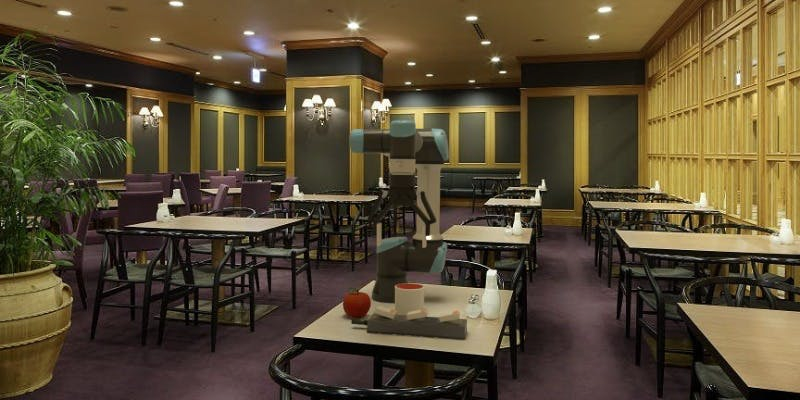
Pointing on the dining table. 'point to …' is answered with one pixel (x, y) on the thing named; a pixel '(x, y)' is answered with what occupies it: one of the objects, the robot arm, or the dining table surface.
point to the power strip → (415, 326)
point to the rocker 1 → (385, 312)
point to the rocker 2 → (417, 314)
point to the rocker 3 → (449, 316)
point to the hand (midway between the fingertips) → (401, 246)
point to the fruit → (356, 304)
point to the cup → (408, 298)
